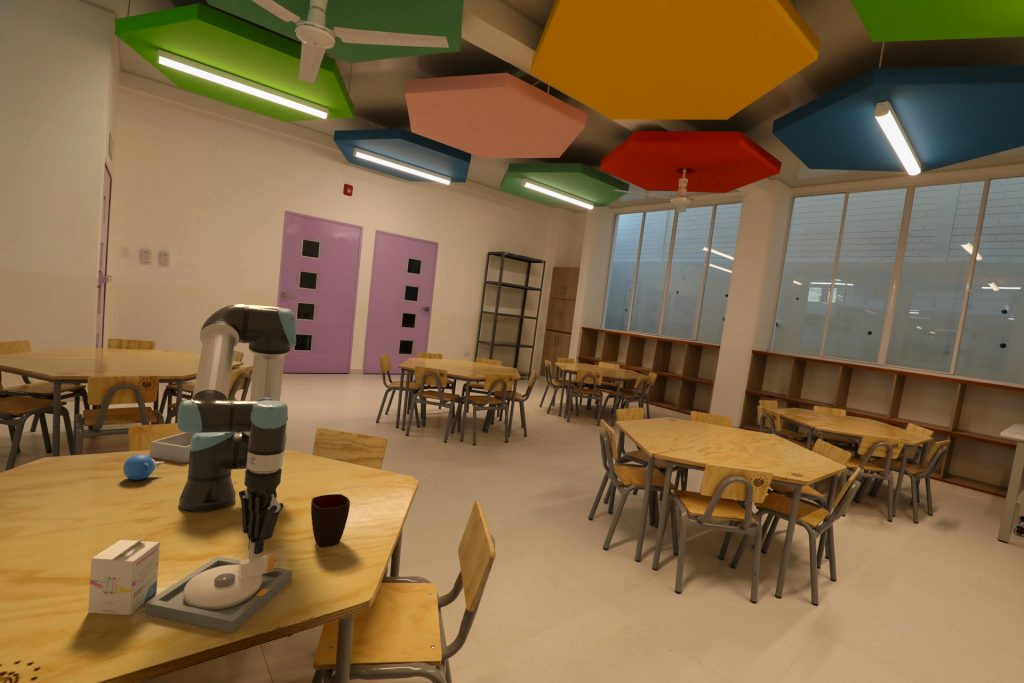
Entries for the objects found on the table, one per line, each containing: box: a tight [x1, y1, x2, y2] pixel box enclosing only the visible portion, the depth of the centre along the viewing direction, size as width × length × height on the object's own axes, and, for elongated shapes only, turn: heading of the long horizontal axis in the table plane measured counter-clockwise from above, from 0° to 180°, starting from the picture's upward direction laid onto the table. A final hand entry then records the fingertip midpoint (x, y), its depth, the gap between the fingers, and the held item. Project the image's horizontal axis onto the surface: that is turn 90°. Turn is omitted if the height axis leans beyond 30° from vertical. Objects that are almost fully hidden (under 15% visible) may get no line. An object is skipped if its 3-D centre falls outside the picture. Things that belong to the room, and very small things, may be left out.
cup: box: [310, 493, 351, 548], centre depth 137 cm, size 10×14×12 cm
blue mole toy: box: [122, 453, 166, 481], centre depth 166 cm, size 12×12×8 cm
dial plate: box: [143, 555, 293, 634], centre depth 108 cm, size 20×20×3 cm
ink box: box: [87, 534, 161, 616], centre depth 102 cm, size 9×8×13 cm
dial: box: [184, 552, 276, 610], centre depth 109 cm, size 18×15×5 cm
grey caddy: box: [149, 432, 195, 463], centre depth 196 cm, size 15×23×6 cm, turn 172°
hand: (254, 565), depth 114 cm, fingers closed
